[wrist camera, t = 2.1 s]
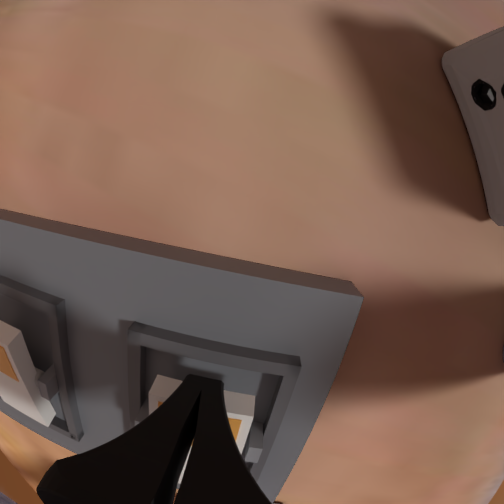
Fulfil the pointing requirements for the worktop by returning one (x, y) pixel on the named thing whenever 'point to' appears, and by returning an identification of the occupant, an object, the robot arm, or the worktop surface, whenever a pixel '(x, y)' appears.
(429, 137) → the worktop surface
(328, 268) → the worktop surface
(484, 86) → the electrical switch
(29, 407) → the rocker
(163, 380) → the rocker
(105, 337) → the breaker panel
